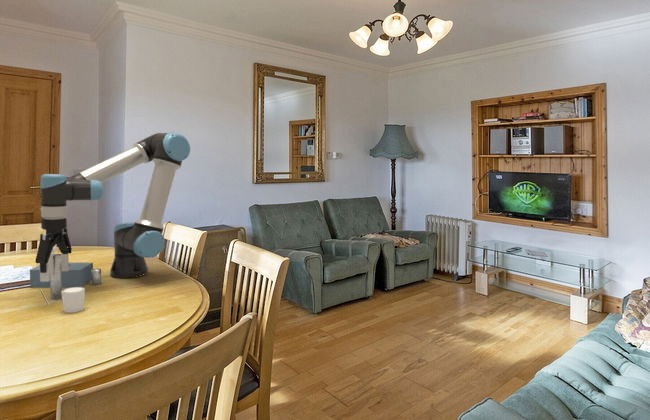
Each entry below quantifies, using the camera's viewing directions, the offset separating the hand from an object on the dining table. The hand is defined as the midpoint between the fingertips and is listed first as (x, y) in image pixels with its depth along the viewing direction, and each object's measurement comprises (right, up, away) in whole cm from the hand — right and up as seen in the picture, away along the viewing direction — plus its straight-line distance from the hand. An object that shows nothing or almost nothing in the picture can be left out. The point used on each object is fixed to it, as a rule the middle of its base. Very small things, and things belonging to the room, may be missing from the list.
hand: (55, 276), depth 147 cm
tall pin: (0, -8, +1) cm, 8 cm away
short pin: (+4, -6, +19) cm, 20 cm away
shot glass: (+12, -10, -9) cm, 18 cm away
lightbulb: (-31, -2, +43) cm, 53 cm away
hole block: (-9, -6, +18) cm, 21 cm away
